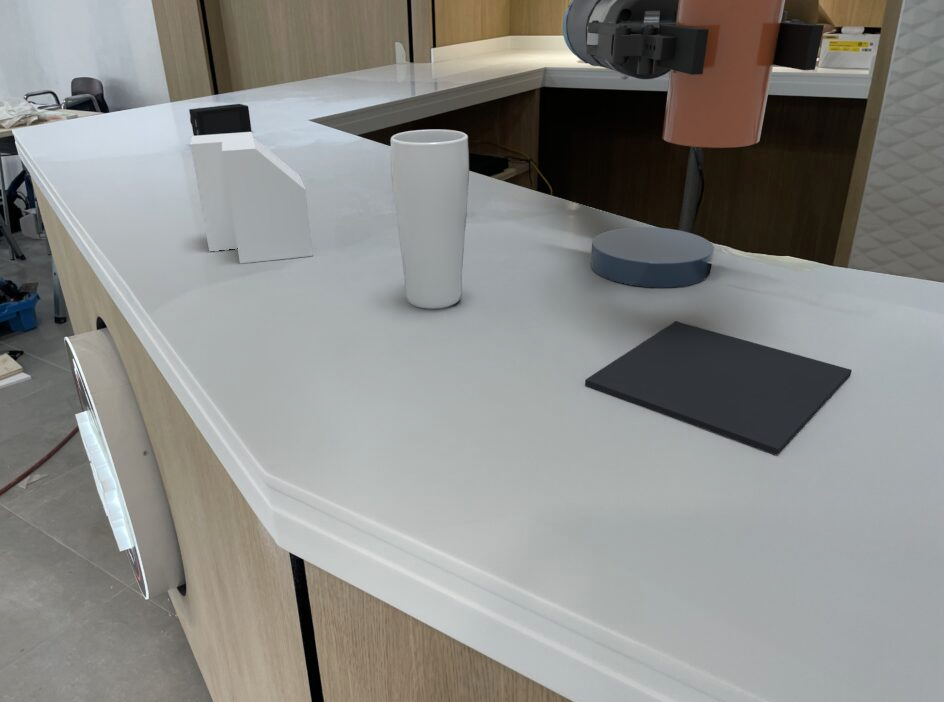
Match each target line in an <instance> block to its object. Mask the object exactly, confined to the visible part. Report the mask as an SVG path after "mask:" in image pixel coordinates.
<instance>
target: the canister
mask: <svg viewBox="0 0 944 702" xmlns="http://www.w3.org/2000/svg"><path fill="white" fill-rule="evenodd" d="M785 2H786V0H678V7H677V16H676V24H675V25H677V26H686V27H695V28H704V29H709V32H708V39H707V46H706V54H705V61H704V68H703V74H698V75H691V74H687V73H683V72H679V71H675V70H671V69H670V72H669V74H668V75H669V76H668V83H667V91H666V100H665V108H664V110H665V111H664V117H663V125H662V134H661V138H662V140H663V141H665V142H667V143H670V144H673V145H678V146H685V147H692V148H704V149H705V148H706V149H730V148H733V149H734V148H742V147H743V148H744V147H749V146H753V145H757V144H758V143H759V142H760V140H761V135H762V130H763V124H764V120H765V119H764V118H765V113H766V108H767V102H768V98H769V97H768V96H769V91H770V86H771V81H772V75H773V69H774V65H773V64H774V59H775V53H776V48H777V42H778V37H779V31H780V26H781V20H782V15H783V11H784V9H785Z"/></svg>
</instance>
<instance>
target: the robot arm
mask: <svg viewBox="0 0 944 702" xmlns="http://www.w3.org/2000/svg"><path fill="white" fill-rule="evenodd" d="M567 6H568V7H567V8H566V10H565V12H564V16H563V19H562V36H563V40H564V42H565V44H566V46H567V48H568V49H569V51H570V52H571V54H573V55H574V56H576V57H577V58H578V59H579V60H580V61H582V62H583V63H585V64H588V65H590V66H591V67H600V68H605V69H607V70H611V71H614V72H617V73H619V78H620V79H621V80H627V79H629V78H630V77H631V78H634V79H637V80H655V79H657V78H661V77H662V76H665V75H666V74H668V73H670V69H671V70H675V71H679V72H683V73H687V74H691V75H698V74H703V68H704V61H705V54H706V46H707V39H708V32H709V29H704V28H695V27H686V26H677V25H675V24H676V16H677V7H678V0H571V1H570V3H569V5H567ZM787 15H788V10H787V11H786V10H783V15H782V20H781V26H780V31H779V37H778V42H777V48H776V53H775V59H774V64H773V66H776V67H777V66H778V67H781V68H788V69H789V68H790V69H794V70H800V71H815V70H816V66H817V61H818V56H819V52H820V46H821V41H822V36H823V33H824V32H823V31H824V28H825V25H824V24H816V23H815V24H813V23H805V22H804V21H803V20H800V19H791V20H787Z"/></svg>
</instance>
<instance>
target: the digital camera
mask: <svg viewBox="0 0 944 702" xmlns="http://www.w3.org/2000/svg"><path fill="white" fill-rule="evenodd" d="M188 112H189V122H190V124H191V129H192V134H193V135H192V136H199V135H213V134H227V133H242V132H252V133H253V131H252V123H251V117H250V108H249V105H247V104H242V103H233V104H225V105H214V106H207V107H197V108H189V109H188Z"/></svg>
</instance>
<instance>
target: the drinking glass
mask: <svg viewBox="0 0 944 702" xmlns="http://www.w3.org/2000/svg"><path fill="white" fill-rule="evenodd" d="M390 171H391V172H390V175H391V186H392V194H393V195H392V196H393V203H394V209H395V210H394V211H395V217H396V225H397V232H398V239H399V246H400V254H401V263H402V269H403V278H404V294H405V295H404V296H405V299H406V300H407V302H408V303H409V304H410V305H413V306H415V307H417V308H421V309H427V310H436V309H444V308H448V307H452V306H453V305H455V304H456V303H458V302H459V301H460V300H461V299H462V295H463V268H464V267H463V266H464V254H465V253H464V252H465V240H466V239H465V238H466V227H467V226H466V225H467V217H468V216H467V215H468V205H469V204H468V203H469V189H470V188H469V187H470V149H469V135H468V134H466V133H465V132H463V131H458V130H453V129H416V130H415V129H414V130H408V131H403V132H398V133H396V134H395V133H394V134H393V135H392V136H390Z"/></svg>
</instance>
